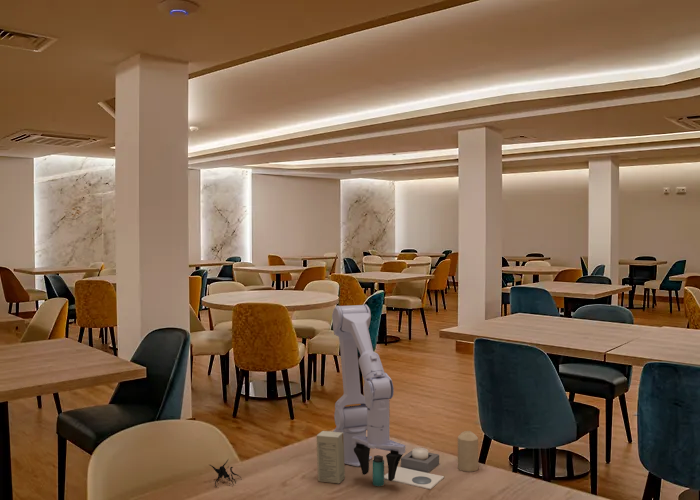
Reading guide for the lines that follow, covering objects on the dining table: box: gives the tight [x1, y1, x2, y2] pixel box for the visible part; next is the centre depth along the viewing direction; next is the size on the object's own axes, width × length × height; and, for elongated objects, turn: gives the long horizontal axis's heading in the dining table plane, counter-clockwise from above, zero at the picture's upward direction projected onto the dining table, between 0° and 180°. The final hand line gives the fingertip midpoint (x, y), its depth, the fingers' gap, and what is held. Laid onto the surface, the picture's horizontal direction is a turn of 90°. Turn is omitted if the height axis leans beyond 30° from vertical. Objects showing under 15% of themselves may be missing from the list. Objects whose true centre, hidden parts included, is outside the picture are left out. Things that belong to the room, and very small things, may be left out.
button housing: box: [400, 450, 440, 473], centre depth 174 cm, size 8×8×3 cm
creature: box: [209, 459, 242, 488], centre depth 163 cm, size 8×5×8 cm
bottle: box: [372, 454, 385, 487], centre depth 161 cm, size 3×3×7 cm
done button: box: [411, 447, 429, 461], centre depth 174 cm, size 4×4×3 cm
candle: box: [457, 430, 479, 473], centre depth 172 cm, size 6×6×10 cm
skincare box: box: [316, 430, 346, 484], centre depth 164 cm, size 6×4×12 cm
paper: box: [384, 465, 445, 490], centre depth 165 cm, size 14×9×1 cm, turn 59°
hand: (378, 476), depth 161 cm, fingers open, 7 cm apart
